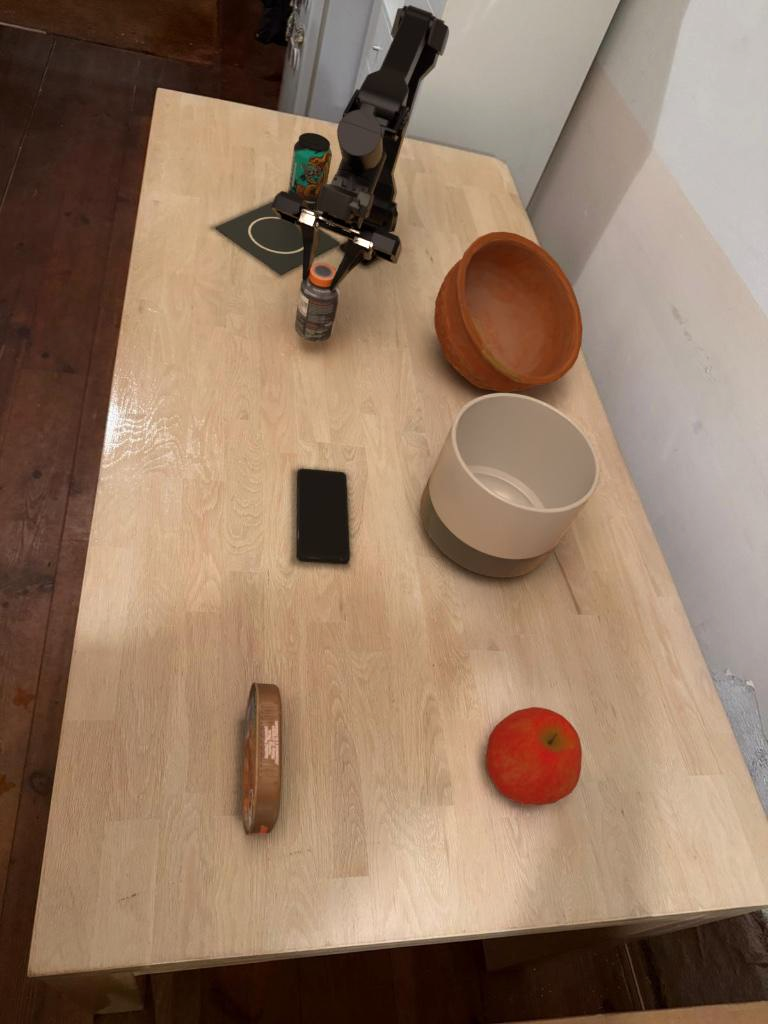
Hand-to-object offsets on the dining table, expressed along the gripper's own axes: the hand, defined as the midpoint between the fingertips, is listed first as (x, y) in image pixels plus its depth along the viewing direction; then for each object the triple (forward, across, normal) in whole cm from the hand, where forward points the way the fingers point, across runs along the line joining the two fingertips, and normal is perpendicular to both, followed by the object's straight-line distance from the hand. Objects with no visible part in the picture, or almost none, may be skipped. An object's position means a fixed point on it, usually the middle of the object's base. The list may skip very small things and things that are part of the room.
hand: (317, 285), depth 107 cm
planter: (+24, +35, -5) cm, 42 cm away
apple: (+45, +47, -27) cm, 71 cm away
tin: (+53, +19, -35) cm, 66 cm away
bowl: (-3, +23, +20) cm, 31 cm away
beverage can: (-19, -16, +40) cm, 47 cm away
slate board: (-9, -16, +30) cm, 35 cm away
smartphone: (+29, +14, -11) cm, 34 cm away
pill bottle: (+6, 0, +9) cm, 10 cm away
